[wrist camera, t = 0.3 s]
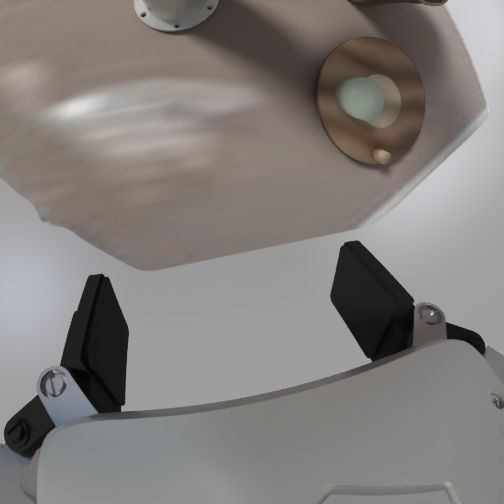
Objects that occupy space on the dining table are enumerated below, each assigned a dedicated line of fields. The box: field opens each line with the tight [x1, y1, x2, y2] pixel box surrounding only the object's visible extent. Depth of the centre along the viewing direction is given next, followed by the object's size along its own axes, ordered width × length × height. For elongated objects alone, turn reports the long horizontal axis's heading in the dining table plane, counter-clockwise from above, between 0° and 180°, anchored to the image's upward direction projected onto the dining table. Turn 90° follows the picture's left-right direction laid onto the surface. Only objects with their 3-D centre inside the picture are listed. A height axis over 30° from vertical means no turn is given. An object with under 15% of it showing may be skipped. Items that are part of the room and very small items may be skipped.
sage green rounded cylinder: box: [335, 77, 384, 121], centre depth 36 cm, size 7×7×4 cm
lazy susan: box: [316, 37, 425, 165], centre depth 39 cm, size 24×24×4 cm
